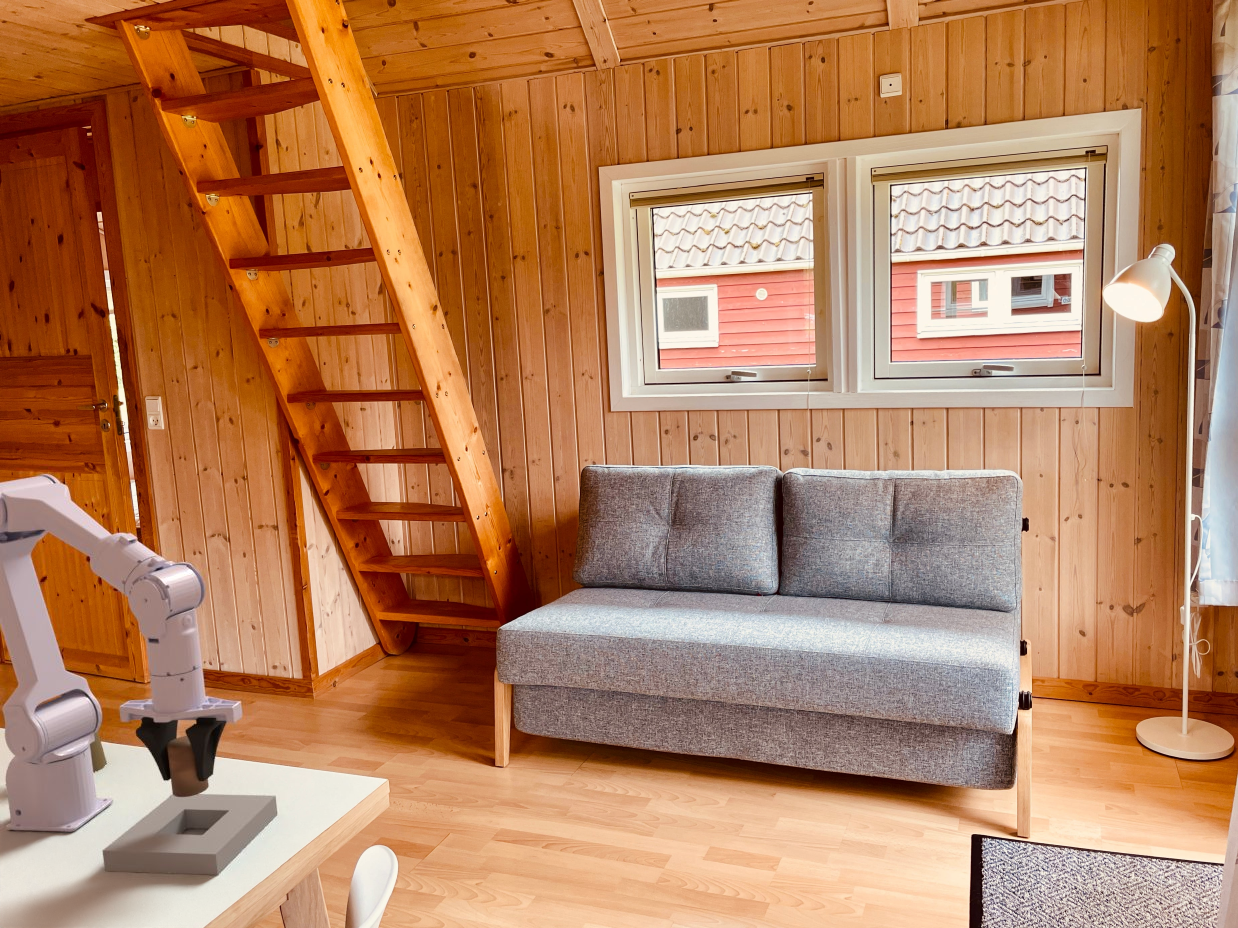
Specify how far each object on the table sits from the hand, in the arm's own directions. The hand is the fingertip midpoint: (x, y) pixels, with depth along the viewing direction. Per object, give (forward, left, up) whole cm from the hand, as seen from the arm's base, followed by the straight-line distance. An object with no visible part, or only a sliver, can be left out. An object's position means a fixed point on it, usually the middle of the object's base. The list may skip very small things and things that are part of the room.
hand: (188, 777), depth 118 cm
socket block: (0, 0, -8) cm, 8 cm away
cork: (-29, +19, -8) cm, 36 cm away
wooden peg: (0, 0, -2) cm, 2 cm away
